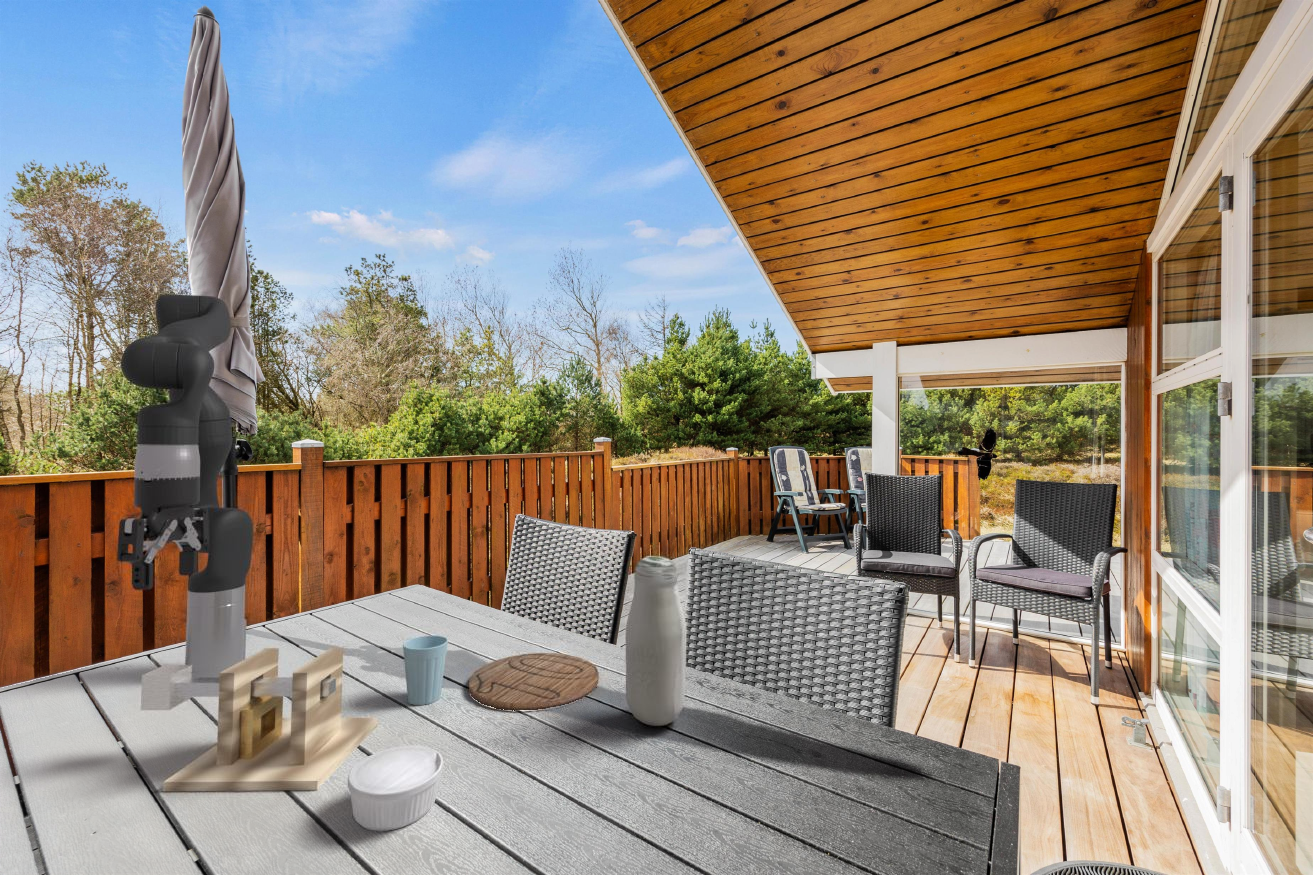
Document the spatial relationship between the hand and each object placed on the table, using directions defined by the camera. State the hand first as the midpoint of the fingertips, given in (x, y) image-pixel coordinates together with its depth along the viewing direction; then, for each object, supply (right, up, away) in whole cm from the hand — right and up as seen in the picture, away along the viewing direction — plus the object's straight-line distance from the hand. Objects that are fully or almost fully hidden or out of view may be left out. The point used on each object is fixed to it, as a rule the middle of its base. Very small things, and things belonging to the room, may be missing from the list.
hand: (166, 581), depth 86 cm
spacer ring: (+15, -21, -1) cm, 26 cm away
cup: (+32, -26, +18) cm, 45 cm away
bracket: (+18, -26, -1) cm, 31 cm away
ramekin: (+41, -26, -13) cm, 50 cm away
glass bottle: (+74, -27, +11) cm, 79 cm away
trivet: (+50, -27, +26) cm, 63 cm away
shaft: (+12, -18, -1) cm, 22 cm away
